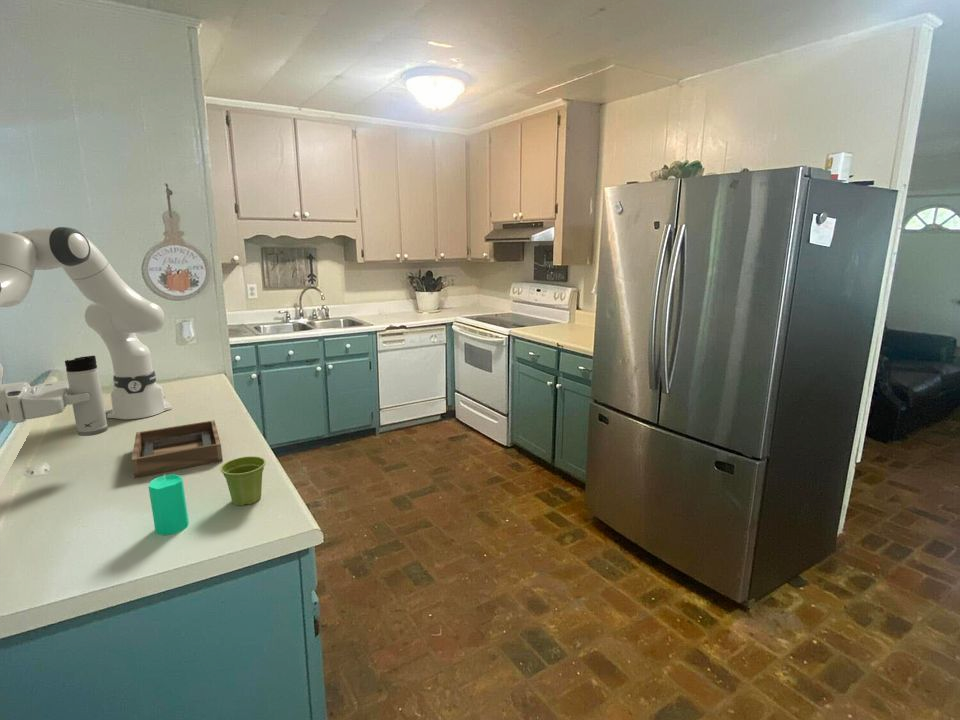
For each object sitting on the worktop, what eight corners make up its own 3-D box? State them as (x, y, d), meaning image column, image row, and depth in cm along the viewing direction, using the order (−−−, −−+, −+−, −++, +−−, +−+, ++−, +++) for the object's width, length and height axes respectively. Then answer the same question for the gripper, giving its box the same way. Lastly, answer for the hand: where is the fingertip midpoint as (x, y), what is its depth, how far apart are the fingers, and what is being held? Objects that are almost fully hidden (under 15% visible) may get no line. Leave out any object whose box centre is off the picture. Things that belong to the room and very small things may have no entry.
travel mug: (93, 437, 129) (79, 359, 125) (71, 435, 130) (57, 358, 126) (115, 428, 135) (102, 353, 130) (94, 426, 136) (81, 352, 132)
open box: (138, 448, 148) (136, 432, 147) (216, 435, 158) (214, 420, 157) (134, 478, 130) (131, 460, 129) (222, 461, 140) (220, 444, 138)
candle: (164, 520, 110) (156, 468, 108) (193, 519, 111) (186, 467, 108) (149, 536, 105) (140, 481, 102) (180, 534, 105) (172, 480, 102)
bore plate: (146, 447, 146) (145, 441, 146) (209, 437, 154) (208, 430, 154) (143, 468, 133) (142, 461, 133) (213, 455, 141) (212, 448, 140)
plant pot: (277, 493, 122) (274, 459, 120) (248, 512, 113) (244, 476, 111) (246, 487, 125) (242, 454, 123) (215, 505, 116) (210, 470, 114)
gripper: (32, 401, 133) (98, 394, 140) (12, 425, 116) (88, 415, 123) (27, 378, 132) (94, 371, 139) (6, 399, 115) (83, 390, 122)
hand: (91, 392), depth 131 cm, fingers closed on travel mug, 6 cm apart
